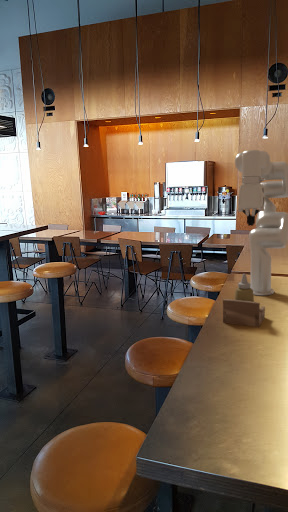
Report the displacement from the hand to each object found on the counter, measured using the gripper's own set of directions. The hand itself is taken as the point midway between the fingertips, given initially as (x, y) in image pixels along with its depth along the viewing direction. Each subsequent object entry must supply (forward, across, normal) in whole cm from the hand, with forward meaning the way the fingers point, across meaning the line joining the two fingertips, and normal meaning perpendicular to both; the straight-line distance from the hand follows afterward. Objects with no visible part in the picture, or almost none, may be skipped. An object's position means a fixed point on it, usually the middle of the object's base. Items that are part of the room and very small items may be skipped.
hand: (250, 225), depth 154 cm
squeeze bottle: (+35, -2, +18) cm, 40 cm away
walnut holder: (+35, -2, +19) cm, 40 cm away
